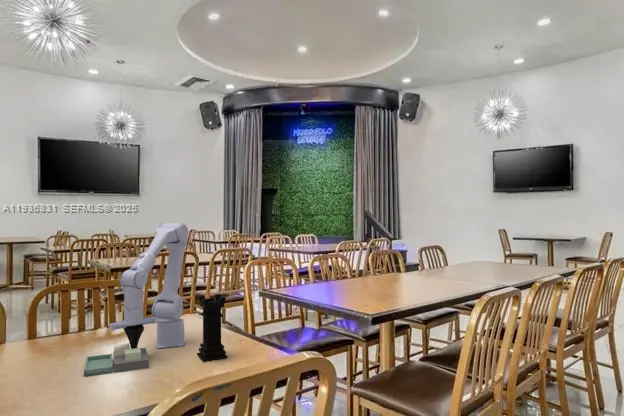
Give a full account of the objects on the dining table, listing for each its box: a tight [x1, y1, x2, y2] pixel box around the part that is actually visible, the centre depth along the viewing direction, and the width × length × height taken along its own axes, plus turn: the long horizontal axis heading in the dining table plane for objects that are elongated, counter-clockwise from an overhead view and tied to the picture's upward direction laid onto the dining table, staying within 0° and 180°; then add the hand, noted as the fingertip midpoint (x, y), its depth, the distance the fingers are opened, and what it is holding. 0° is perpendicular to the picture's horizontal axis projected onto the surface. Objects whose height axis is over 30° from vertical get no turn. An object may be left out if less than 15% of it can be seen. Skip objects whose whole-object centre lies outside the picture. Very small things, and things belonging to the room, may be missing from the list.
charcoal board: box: [112, 347, 150, 374], centre depth 145 cm, size 10×14×2 cm
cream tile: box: [113, 342, 131, 357], centre depth 147 cm, size 4×4×2 cm
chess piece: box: [196, 293, 228, 363], centre depth 152 cm, size 8×8×20 cm
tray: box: [83, 353, 114, 377], centre depth 142 cm, size 8×14×2 cm, turn 24°
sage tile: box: [125, 347, 141, 362], centre depth 142 cm, size 4×4×2 cm
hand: (133, 348), depth 148 cm, fingers closed
